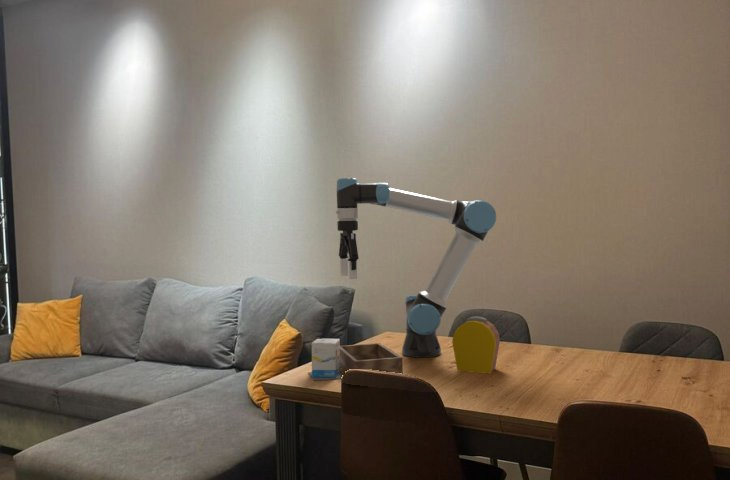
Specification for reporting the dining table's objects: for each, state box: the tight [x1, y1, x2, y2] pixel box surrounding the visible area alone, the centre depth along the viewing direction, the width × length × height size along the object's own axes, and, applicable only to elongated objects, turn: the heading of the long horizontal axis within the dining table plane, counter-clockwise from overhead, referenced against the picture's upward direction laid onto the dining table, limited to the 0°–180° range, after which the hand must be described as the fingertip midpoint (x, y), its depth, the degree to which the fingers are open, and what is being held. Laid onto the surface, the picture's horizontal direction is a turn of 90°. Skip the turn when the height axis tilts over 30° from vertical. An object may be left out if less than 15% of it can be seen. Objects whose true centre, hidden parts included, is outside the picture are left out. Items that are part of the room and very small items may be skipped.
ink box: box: [311, 338, 341, 377], centre depth 220 cm, size 9×8×12 cm
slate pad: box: [307, 370, 344, 382], centre depth 220 cm, size 11×11×1 cm
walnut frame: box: [340, 342, 404, 375], centre depth 225 cm, size 16×26×7 cm, turn 15°
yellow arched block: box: [451, 315, 501, 374], centre depth 225 cm, size 15×8×18 cm, turn 65°
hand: (348, 277), depth 239 cm, fingers open, 13 cm apart
